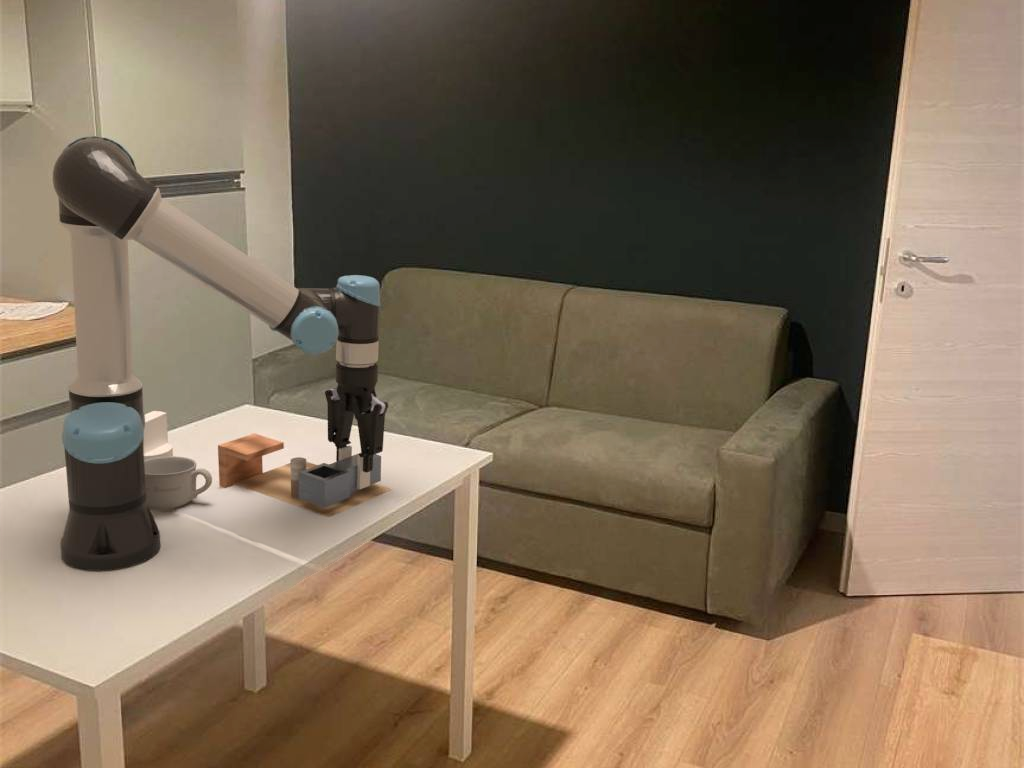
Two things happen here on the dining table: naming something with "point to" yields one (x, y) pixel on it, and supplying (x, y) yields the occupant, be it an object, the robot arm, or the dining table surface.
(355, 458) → the grey socket block
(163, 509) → the teacup
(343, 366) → the robot arm
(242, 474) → the board
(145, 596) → the dining table surface
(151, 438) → the cylinder with rectangular tab
